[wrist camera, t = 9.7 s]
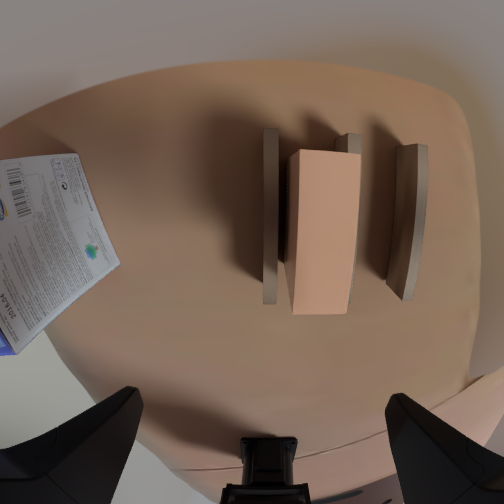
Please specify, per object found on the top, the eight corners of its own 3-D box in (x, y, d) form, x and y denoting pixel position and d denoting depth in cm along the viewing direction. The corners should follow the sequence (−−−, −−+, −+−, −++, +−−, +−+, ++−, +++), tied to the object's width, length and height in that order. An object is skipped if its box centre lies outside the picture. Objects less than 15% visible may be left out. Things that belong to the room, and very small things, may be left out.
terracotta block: (319, 264, 18) (346, 313, 12) (284, 263, 18) (292, 314, 12) (325, 161, 16) (360, 154, 10) (286, 159, 16) (299, 149, 10)
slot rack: (394, 283, 18) (411, 300, 15) (263, 284, 19) (262, 304, 16) (405, 148, 16) (427, 145, 13) (263, 136, 16) (263, 128, 13)
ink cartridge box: (38, 180, 17) (-97, 221, 3) (78, 148, 16) (-87, 168, 3) (79, 282, 20) (-33, 383, 6) (123, 263, 19) (-8, 388, 5)
